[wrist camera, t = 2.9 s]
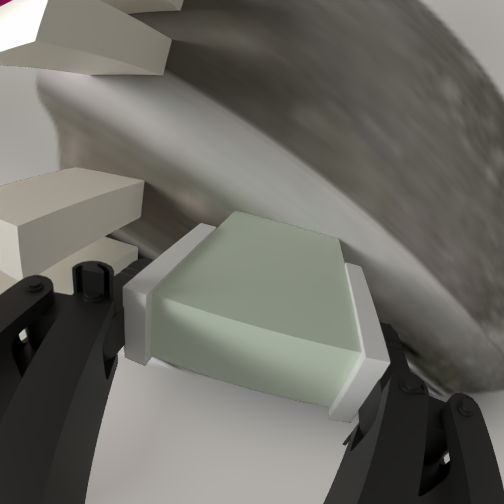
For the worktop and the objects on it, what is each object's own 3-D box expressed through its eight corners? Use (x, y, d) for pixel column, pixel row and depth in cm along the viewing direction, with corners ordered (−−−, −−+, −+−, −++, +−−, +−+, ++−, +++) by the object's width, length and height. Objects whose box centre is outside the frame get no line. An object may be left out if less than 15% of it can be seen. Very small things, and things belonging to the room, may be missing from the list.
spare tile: (227, 249, 18) (149, 355, 9) (235, 210, 17) (151, 293, 8) (325, 275, 18) (331, 407, 8) (338, 238, 17) (362, 353, 8)
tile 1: (74, 255, 21) (-21, 317, 12) (73, 226, 20) (-31, 281, 11) (136, 278, 20) (42, 364, 11) (138, 247, 19) (32, 326, 10)
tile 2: (73, 199, 19) (-38, 245, 10) (75, 167, 18) (-43, 200, 9) (140, 217, 19) (23, 283, 9) (144, 180, 18) (17, 226, 9)
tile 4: (88, 75, 16) (-33, 64, 7) (96, 43, 15) (-20, 18, 6) (163, 75, 15) (34, 41, 6) (172, 39, 14) (55, -19, 5)
